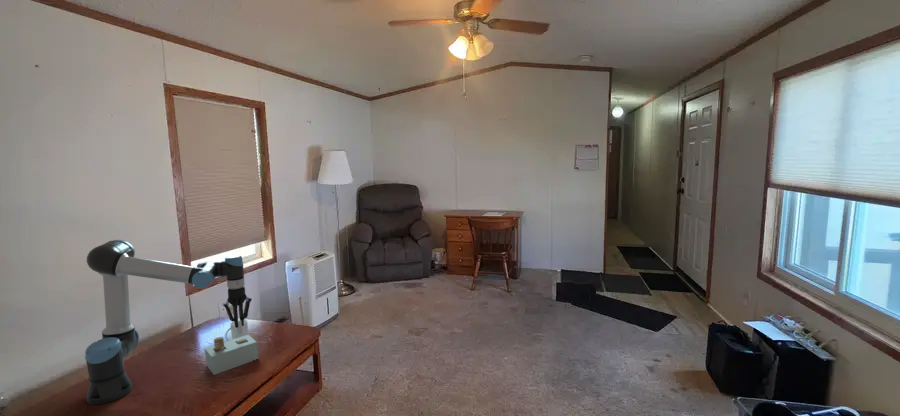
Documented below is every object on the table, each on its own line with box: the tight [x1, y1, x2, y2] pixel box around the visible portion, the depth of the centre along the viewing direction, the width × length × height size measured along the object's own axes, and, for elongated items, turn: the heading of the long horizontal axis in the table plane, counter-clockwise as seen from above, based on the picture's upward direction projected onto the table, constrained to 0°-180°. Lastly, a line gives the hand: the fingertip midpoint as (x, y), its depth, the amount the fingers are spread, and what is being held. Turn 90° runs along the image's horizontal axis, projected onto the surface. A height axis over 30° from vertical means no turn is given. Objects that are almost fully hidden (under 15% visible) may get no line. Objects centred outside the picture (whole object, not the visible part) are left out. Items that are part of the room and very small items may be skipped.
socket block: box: [204, 334, 259, 375], centre depth 200 cm, size 20×12×9 cm, turn 134°
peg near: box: [213, 336, 225, 352], centre depth 195 cm, size 4×4×8 cm
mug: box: [224, 318, 250, 341], centre depth 218 cm, size 12×8×12 cm
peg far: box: [237, 339, 246, 345], centre depth 203 cm, size 4×4×8 cm
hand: (239, 332), depth 202 cm, fingers closed
